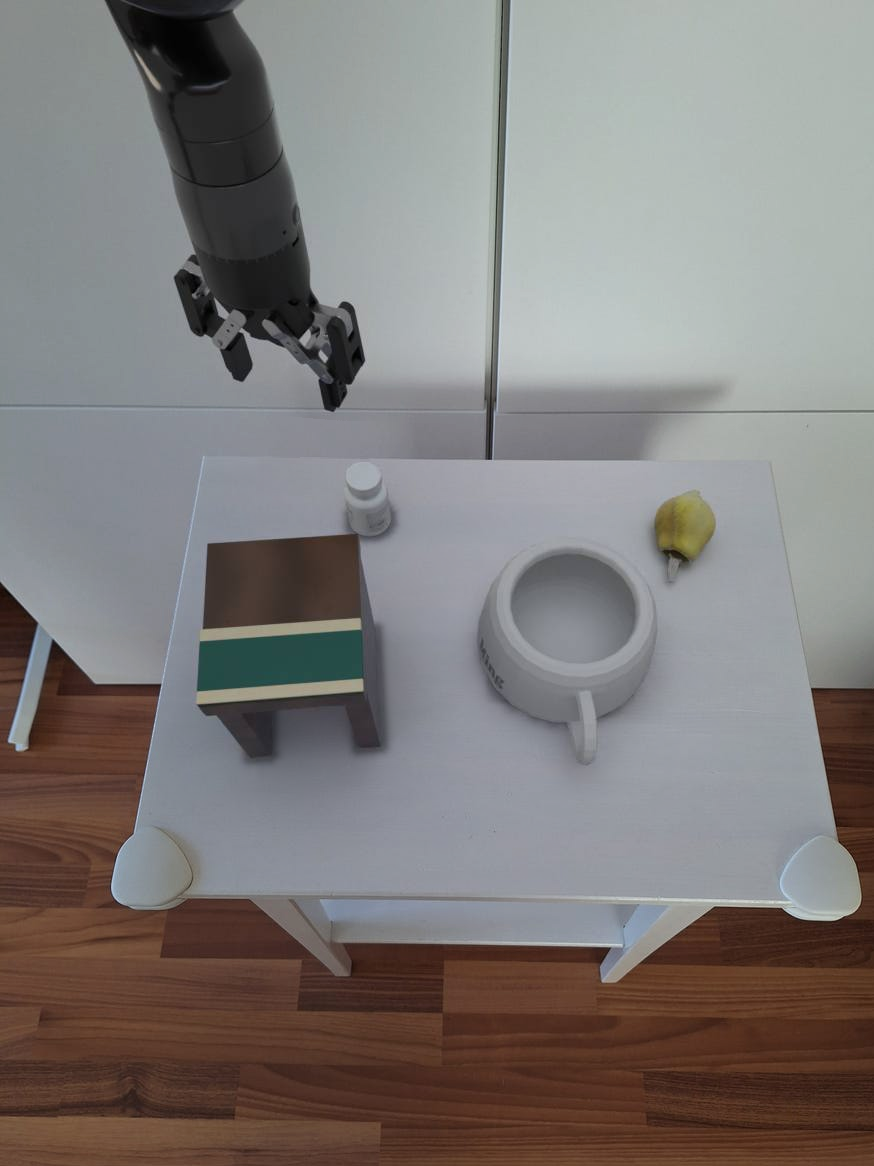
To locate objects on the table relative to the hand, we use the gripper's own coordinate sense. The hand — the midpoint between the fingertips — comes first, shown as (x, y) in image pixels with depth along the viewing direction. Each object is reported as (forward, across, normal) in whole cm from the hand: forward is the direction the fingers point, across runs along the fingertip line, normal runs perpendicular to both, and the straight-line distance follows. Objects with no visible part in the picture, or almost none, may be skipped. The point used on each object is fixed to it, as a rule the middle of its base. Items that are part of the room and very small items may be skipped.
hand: (289, 389), depth 68 cm
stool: (+18, +8, -19) cm, 27 cm away
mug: (+18, +30, -8) cm, 36 cm away
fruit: (+18, +36, +10) cm, 42 cm away
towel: (+2, +10, -22) cm, 25 cm away
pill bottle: (+18, +5, +1) cm, 19 cm away
